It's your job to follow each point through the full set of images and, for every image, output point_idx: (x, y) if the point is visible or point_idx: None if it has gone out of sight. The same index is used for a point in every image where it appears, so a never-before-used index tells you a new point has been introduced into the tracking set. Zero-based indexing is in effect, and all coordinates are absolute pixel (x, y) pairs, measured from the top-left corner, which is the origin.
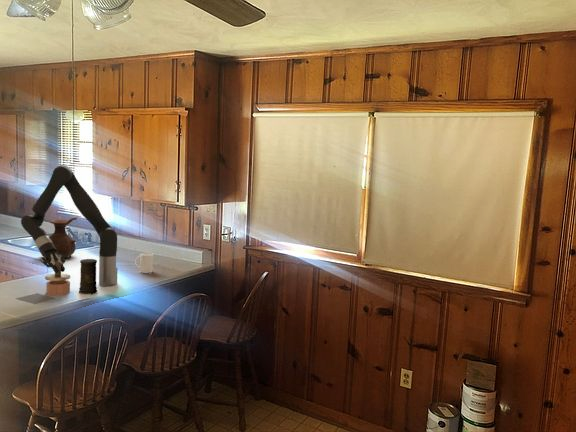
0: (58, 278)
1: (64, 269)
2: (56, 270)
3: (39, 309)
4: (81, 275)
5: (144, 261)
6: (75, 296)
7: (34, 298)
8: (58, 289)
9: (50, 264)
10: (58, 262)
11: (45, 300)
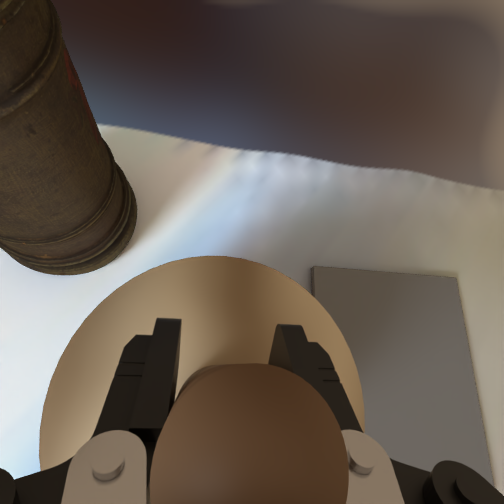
0: (276, 316)
1: (165, 318)
2: (313, 347)
3: (462, 205)
4: (79, 141)
5: None
6: (194, 221)
7: (406, 383)
8: None
9: (466, 474)
10: (299, 377)
11: (383, 284)
